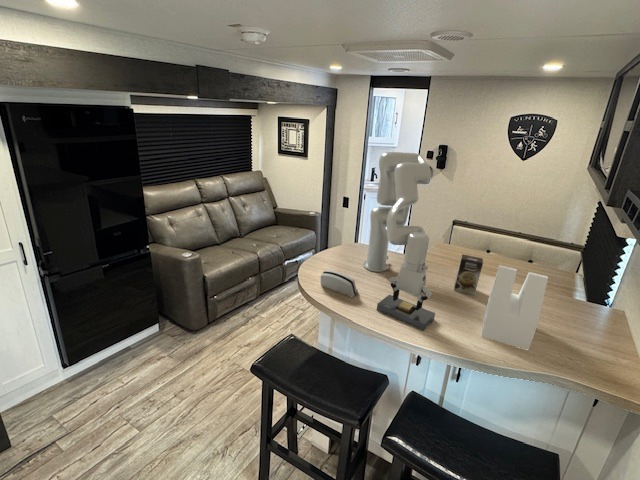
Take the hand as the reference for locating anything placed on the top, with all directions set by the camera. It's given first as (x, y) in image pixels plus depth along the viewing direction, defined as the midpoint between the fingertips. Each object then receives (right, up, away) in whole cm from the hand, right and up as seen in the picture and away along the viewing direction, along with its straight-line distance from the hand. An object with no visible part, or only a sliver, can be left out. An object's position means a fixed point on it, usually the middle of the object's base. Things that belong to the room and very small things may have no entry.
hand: (406, 304), depth 138 cm
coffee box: (+33, +2, +24) cm, 41 cm away
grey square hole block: (0, -5, +2) cm, 5 cm away
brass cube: (0, -5, +2) cm, 5 cm away
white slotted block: (+37, -9, -3) cm, 38 cm away
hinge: (-26, +3, +17) cm, 31 cm away
